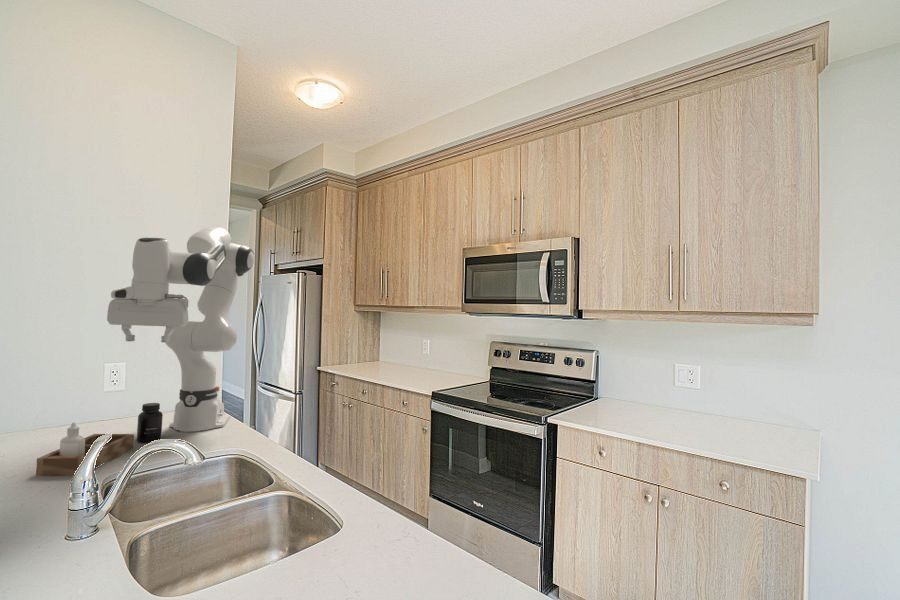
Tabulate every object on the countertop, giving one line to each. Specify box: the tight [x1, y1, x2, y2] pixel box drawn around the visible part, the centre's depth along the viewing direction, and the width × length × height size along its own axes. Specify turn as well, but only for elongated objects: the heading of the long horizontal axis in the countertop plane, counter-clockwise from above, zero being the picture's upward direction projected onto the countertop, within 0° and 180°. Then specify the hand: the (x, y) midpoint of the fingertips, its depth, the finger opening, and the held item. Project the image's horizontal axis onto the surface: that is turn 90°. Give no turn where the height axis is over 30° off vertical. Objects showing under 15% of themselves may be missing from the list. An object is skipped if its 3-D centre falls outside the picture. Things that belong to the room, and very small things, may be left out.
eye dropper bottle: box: [59, 421, 85, 457], centre depth 120 cm, size 4×6×12 cm
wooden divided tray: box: [35, 433, 135, 476], centre depth 125 cm, size 22×12×5 cm, turn 7°
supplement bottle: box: [136, 402, 164, 444], centre depth 145 cm, size 7×7×12 cm
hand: (147, 341), depth 125 cm, fingers open, 8 cm apart
